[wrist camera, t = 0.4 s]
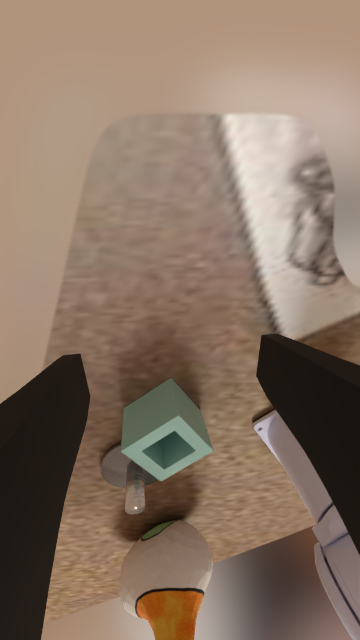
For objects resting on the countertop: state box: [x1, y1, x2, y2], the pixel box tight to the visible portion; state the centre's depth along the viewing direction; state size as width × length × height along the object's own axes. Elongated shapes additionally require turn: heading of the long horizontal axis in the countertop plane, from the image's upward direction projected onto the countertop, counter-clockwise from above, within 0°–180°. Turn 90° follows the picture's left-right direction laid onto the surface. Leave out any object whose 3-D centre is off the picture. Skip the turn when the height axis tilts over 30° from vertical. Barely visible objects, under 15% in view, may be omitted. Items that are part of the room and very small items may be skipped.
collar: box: [121, 378, 213, 482], centre depth 21 cm, size 5×5×4 cm
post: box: [101, 442, 158, 514], centre depth 24 cm, size 7×7×4 cm
